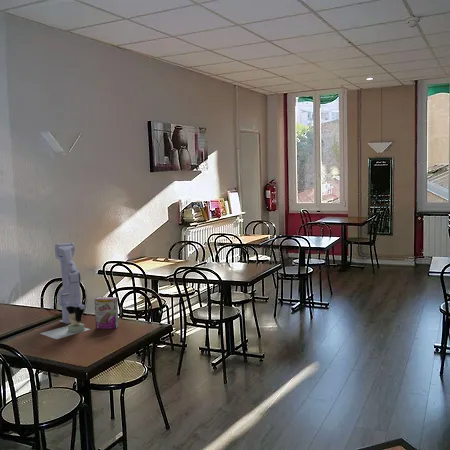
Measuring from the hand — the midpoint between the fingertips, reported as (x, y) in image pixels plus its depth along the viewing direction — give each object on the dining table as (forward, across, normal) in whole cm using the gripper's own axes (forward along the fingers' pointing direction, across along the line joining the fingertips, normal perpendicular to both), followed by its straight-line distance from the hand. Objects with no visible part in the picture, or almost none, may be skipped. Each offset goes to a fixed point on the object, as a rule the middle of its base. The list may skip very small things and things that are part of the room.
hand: (75, 320), depth 275 cm
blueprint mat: (+6, -4, -4) cm, 8 cm away
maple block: (+1, 0, 0) cm, 1 cm away
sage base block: (+5, 0, 0) cm, 5 cm away
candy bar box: (+6, +9, +13) cm, 17 cm away
